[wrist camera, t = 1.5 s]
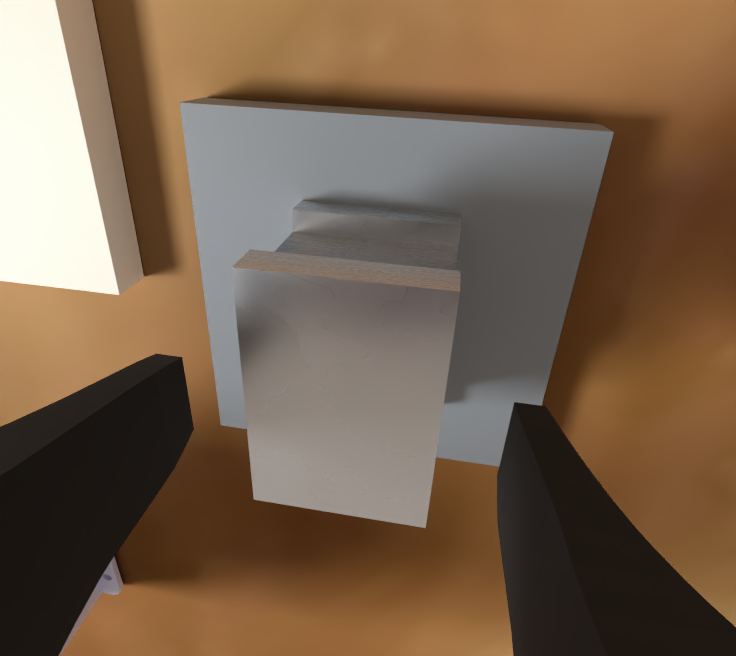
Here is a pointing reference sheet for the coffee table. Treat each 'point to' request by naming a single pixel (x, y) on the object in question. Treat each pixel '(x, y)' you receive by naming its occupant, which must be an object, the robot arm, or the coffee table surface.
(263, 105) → the stand
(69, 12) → the stand
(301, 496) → the block
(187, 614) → the coffee table surface
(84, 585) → the robot arm
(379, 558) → the coffee table surface
